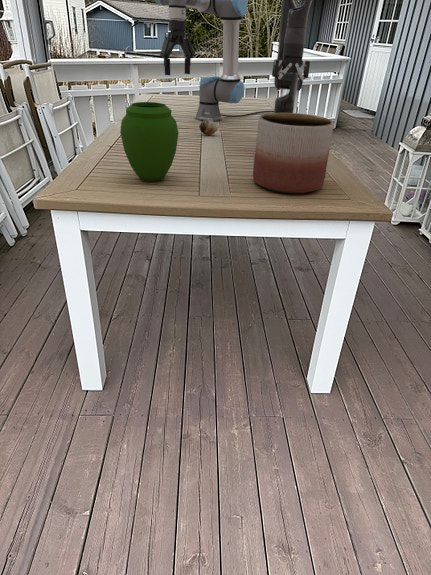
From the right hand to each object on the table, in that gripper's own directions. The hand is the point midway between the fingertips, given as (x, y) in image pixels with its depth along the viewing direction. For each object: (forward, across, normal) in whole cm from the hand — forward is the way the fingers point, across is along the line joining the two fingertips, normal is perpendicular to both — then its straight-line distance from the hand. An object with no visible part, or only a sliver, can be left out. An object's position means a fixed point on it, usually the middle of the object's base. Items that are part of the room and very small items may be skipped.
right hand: (288, 90), depth 161 cm
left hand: (0, -37, +45) cm, 59 cm away
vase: (+27, -57, -21) cm, 66 cm away
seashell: (+27, -21, +49) cm, 60 cm away
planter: (+27, -9, -32) cm, 43 cm away
